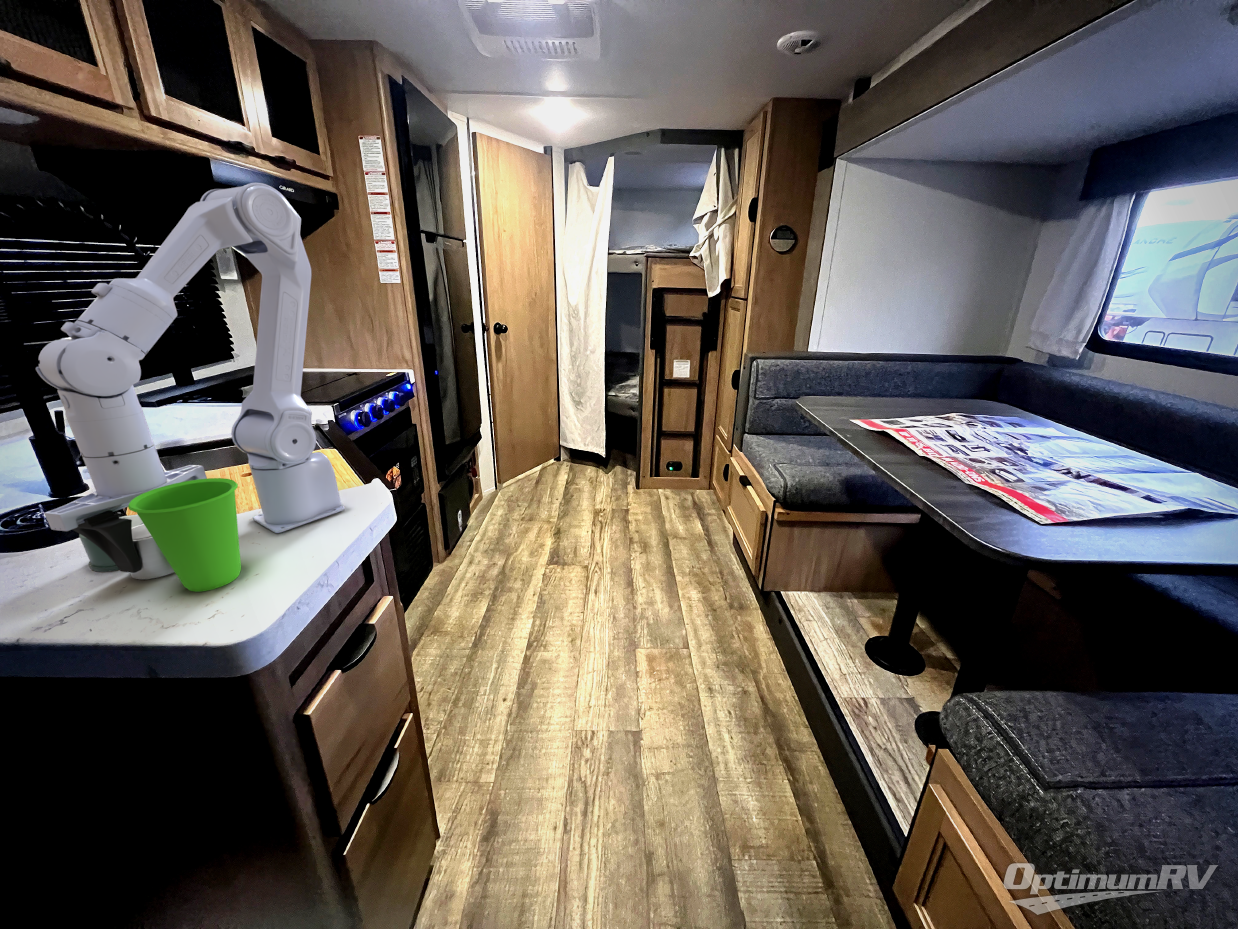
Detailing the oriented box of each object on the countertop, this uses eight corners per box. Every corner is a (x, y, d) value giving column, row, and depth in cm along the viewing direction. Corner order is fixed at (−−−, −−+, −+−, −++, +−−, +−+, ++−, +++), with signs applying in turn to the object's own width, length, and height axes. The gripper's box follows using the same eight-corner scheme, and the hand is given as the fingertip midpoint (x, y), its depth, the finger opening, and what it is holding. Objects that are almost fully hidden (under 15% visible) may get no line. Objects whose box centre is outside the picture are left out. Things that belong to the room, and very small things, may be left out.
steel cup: (183, 551, 61) (170, 515, 59) (198, 563, 58) (185, 527, 57) (125, 570, 57) (110, 532, 55) (139, 584, 54) (123, 545, 52)
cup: (207, 607, 50) (174, 514, 47) (139, 597, 52) (103, 506, 48) (280, 563, 59) (257, 481, 55) (219, 555, 60) (193, 475, 57)
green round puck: (157, 538, 65) (146, 508, 63) (175, 553, 61) (163, 521, 60) (83, 560, 59) (70, 528, 58) (98, 578, 56) (83, 544, 54)
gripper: (160, 430, 60) (192, 526, 65) (1, 469, 47) (56, 588, 51) (206, 433, 59) (236, 531, 63) (57, 474, 45) (109, 595, 50)
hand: (159, 557), depth 57 cm, fingers closed on steel cup, 5 cm apart
